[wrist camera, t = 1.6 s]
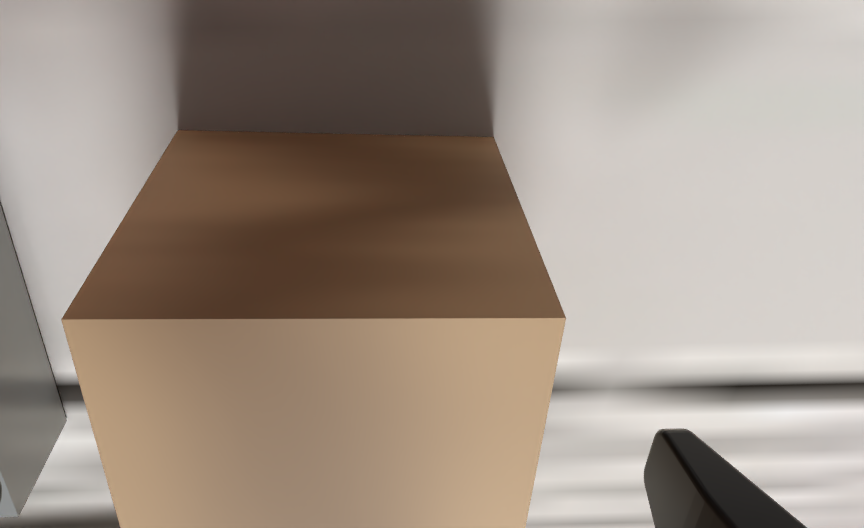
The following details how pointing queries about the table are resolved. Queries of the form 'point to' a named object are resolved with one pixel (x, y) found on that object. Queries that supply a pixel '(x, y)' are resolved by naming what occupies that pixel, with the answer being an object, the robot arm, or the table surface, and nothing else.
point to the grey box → (22, 388)
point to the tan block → (319, 336)
